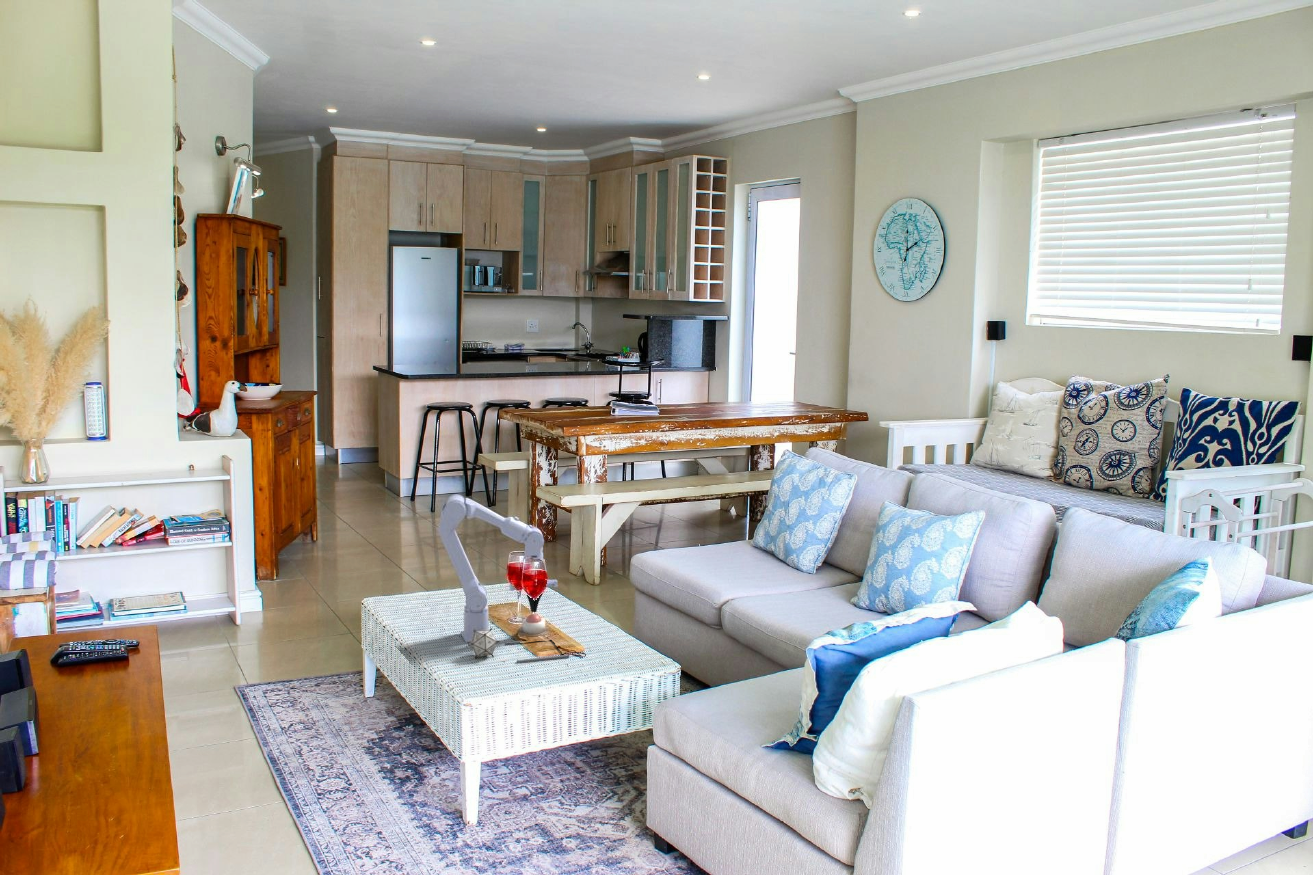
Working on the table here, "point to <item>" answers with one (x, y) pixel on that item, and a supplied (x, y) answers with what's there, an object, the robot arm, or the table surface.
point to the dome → (533, 624)
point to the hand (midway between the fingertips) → (533, 611)
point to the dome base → (533, 634)
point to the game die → (483, 643)
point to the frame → (536, 658)
